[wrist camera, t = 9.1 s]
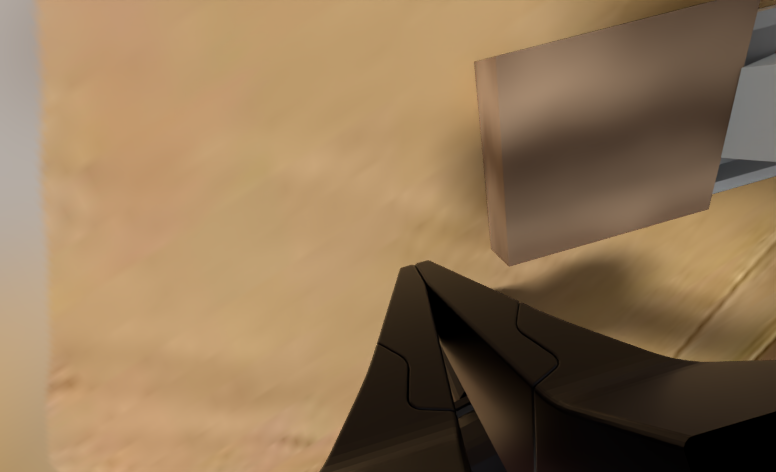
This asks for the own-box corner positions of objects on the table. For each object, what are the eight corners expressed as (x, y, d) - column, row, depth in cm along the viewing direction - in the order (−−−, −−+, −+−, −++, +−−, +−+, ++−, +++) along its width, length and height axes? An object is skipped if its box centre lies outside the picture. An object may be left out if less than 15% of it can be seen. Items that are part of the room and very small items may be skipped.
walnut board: (671, 197, 23) (708, 209, 21) (491, 249, 22) (509, 266, 20) (708, 2, 18) (763, -12, 15) (474, 61, 17) (495, 56, 15)
